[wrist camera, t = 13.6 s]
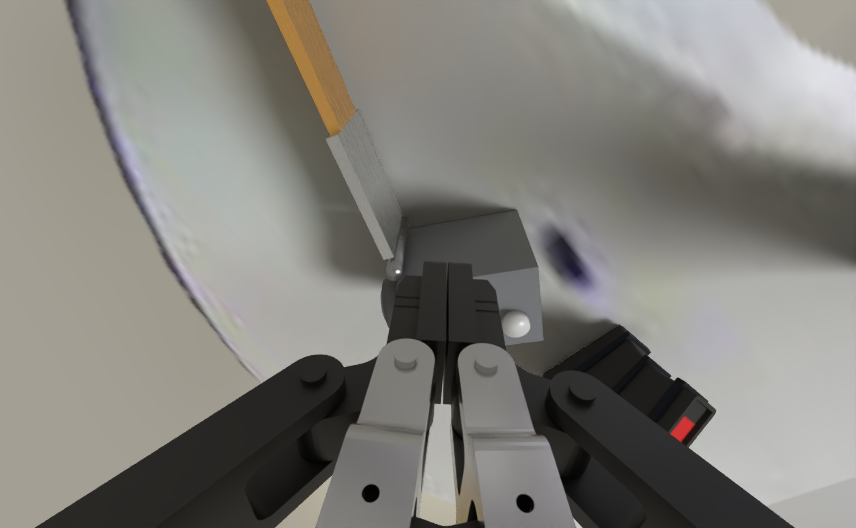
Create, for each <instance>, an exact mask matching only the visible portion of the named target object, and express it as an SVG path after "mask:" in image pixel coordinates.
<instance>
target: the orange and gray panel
mask: <svg viewBox="0 0 856 528" xmlns="http://www.w3.org/2000/svg"><path fill="white" fill-rule="evenodd" d="M266 1H267V3H268V5H269V7H270V9H271V12H272V14H273V16H274V18H275V20H276V22H277V24H278V26H279V28H280V31H281V33H282V35H283V37H284V39H285V41H286V43H287V45H288V48H289V50H290V52H291V54H292V56H293V58H294V60H295V62H296V65H297V67H298V69H299V71H300V73H301V75H302V77H303V79H304V81H305V84H306V86H307V88H308V90H309V92H310V94H311V96H312V98H313V101H314V103H315V105H316V107H317V109H318V111H319V113H320V115H321V117H322V120H323V122H324V124H325V126H326V128H327V130H328V132H329V134H330V135H329V136H328V137H327V138H326V141H327V143H328V145H329V147H330V150H331V152H332V154H333V156H334V158H335V160H336V162H337V164H338V166H339V168H340V170H341V172H342V174H343V177H344V179H345V181H346V183H347V185H348V187H349V189H350V191H351V193H352V195H353V197H354V199H355V202H356V204H357V206H358V208H359V210H360V212H361V214H362V216H363V218H364V220H365V222H366V224H367V227H368V229H369V231H370V233H371V235H372V237H373V239H374V241H375V243H376V245H377V247H378V249H379V252H380V254H381V256H382V258H383V260H386V259H388V261H387V266H386V270H385V276H386V277H387V278H388V279H389V280H392V281H396V280H398V279H400V278H401V276H402V270H403V263H404V256H405V250H406V243H407V236H408V230H409V223H410V222H409V219H408V218H407V217H405V216H402V212H401V209H400V207H399V204H398V202H397V200H396V197H395V195H394V192H393V190H392V188H391V185H390V183H389V180H388V178H387V176H386V173H385V171H384V168H383V166H382V164H381V161H380V159H379V157H378V154H377V152H376V149H375V147H374V145H373V142H372V140H371V137H370V135H369V133H368V130H367V128H366V125H365V123H364V121H363V118H362V116H361V113H360V111H359V109H358V110H355V108H354V106H353V103H352V101H351V99H350V96H349V94H348V91H347V89H346V87H345V84H344V82H343V80H342V77H341V75H340V73H339V70H338V68H337V65H336V63H335V61H334V58H333V56H332V54H331V51H330V49H329V47H328V44H327V42H326V39H325V37H324V35H323V32H322V30H321V28H320V25H319V23H318V21H317V18H316V16H315V13H314V11H313V9H312V6H311V4H310V2H309V0H266Z"/></svg>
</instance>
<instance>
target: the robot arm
mask: <svg viewBox="0 0 856 528" xmlns="http://www.w3.org/2000/svg"><path fill="white" fill-rule="evenodd" d="M446 272H447V283H446ZM442 382H443V404H451V425H450V439H451V450H452V462H453V473H454V485H455V496H456V525H452V526H441V525H437V524H435V523H432V522H429V521H427V520H424V519H421V518H419V516H420V505H421V498H422V490H423V482H424V474H425V466H426V458H427V450H428V443H429V435H430V427H431V425H432V423H433V417H434V404H441V393H442ZM331 476H332V478H331V481H330V484H329V487H328V491H327V493H326V497H325V500H324V503H323V506H322V509H321V512H320V515H319V518H318V521H317V524H316V527H315V528H576V526H575V523H574V520H573V518H574V519H575V520H576V521H577V522H578V523H579V524H580V525H581V526H582V528H794V527H793V526H792V525H790V524H789V523H788V522H786V521H785V520H784V519H782V518H780V516H778V515H777V514H776V513H774V512H773V511H772V510H770V509H769V508H768V507H766V506H765V505H764V504H762V503H761V502H760V501H758V500H757V499H756V498H754V497H753V496H752V495H751V494H749V493H748V492H747V491H745V490H744V489H743V488H741V487H740V486H739V485H737V484H736V483H735V482H733V481H732V480H731V479H729V478H728V477H727V476H725V475H724V474H723V473H721V472H720V471H719V470H717V469H716V468H715V467H713V466H712V465H711V464H709V463H708V462H707V461H705V460H704V459H703V458H701V457H700V456H699V455H697V454H696V453H695V452H693V451H692V450H691V449H689V448H688V447H687V446H686V445H684V444H683V443H682V442H680V441H679V440H678V439H676V438H675V437H674V436H672V435H671V434H670V433H668V432H667V431H666V430H664V429H663V428H662V427H660V426H659V425H658V424H656V423H655V422H654V421H652V420H651V419H650V418H648V417H647V416H646V415H644V414H643V413H642V412H640V411H639V410H638V409H636V408H635V407H634V406H632V405H631V404H630V403H628V402H627V401H626V400H625V399H623V398H622V397H621V396H619V395H618V394H617V393H615V392H614V391H613V390H611V389H610V388H609V387H607V386H606V385H605V384H603V383H602V382H601V381H599V380H598V379H596V378H595V377H593V376H591V375H589V374H586V373H583V372H580V371H563V372H560V373H558V374H556V375H555V376H554V377H553V378H552V380H549V379H546V378H543V377H540V376H537V375H534V374H531V373H528V372H526V371H524V370H523V369H521V368H520V367H518V366H517V365H516V364H515V363H514V360H513V359H512V357H511V356H510V355H509V353H507V351H506V346H505V341H504V335H503V329H502V323H501V317H500V314H499V306H498V300H497V294H496V290H495V289H494V287H493V286H492V285H491V284H490V282H489V281H488V280H482V279H473V274H472V264H471V263H460V262H448V270H447V262H440V261H424V264H423V274H422V276H410V275H406V276H405V277H404V278H403V279H402V281H401V282H400V283H399V284H398V286H397V291H396V298H395V302H394V308H393V313H392V318H391V324H390V329H389V334H388V340H387V344H386V345H385V346H384V347H383V348H382V349H381V351H380V352H379V355H378V356H377V357H375V358H374V359H372V360H370V361H368V362H365V363H362V364H358V365H353V366H348V367H343V365H342V364H341V362H340V361H339V360H337V359H336V358H334V357H331V356H328V355H311V356H307V357H304V358H302V359H300V360H298V361H296V362H294V363H293V364H291V365H290V366H288V367H287V368H285V369H283V370H282V371H280V372H279V373H277V374H276V375H274V376H272V377H271V378H269V379H268V380H266V381H265V382H263V383H261V384H260V385H258V386H257V387H255V388H254V389H252V390H251V391H249V392H247V393H246V394H244V395H243V396H241V397H239V398H238V399H236V400H235V401H233V402H232V403H230V404H228V405H227V406H226V407H224V408H222V409H221V410H219V411H218V412H216V413H214V414H213V415H211V416H210V417H208V418H207V419H205V420H204V421H202V422H200V423H199V424H197V425H195V426H194V427H192V428H191V429H189V430H188V431H186V432H185V433H183V434H181V435H180V436H178V437H177V438H175V439H173V440H172V441H170V442H169V443H167V444H166V445H164V446H163V447H161V448H159V449H158V450H156V451H155V452H153V453H152V454H150V455H148V456H147V457H145V458H144V459H142V460H141V461H139V462H138V463H136V464H134V465H133V466H131V467H130V468H128V469H126V470H125V471H123V472H122V473H120V474H119V475H117V476H115V477H114V478H112V479H111V480H109V481H108V482H106V483H104V484H103V485H101V486H100V487H98V488H97V489H95V490H93V491H92V492H90V493H89V494H87V495H86V496H84V497H82V498H81V499H79V500H78V501H76V502H75V503H73V504H72V505H70V506H68V507H67V508H65V509H64V510H62V511H61V512H59V513H57V514H56V515H54V516H53V517H51V518H49V519H48V520H46V521H45V522H43V523H42V524H40V525H38V526H37V527H35V528H275V527H276V526H277V525H278V524H279V523H280V522H282V521H283V520H284V519H285V518H286V517H287V516H288V515H289V514H290V513H291V512H292V511H294V510H295V509H296V508H297V507H298V506H299V505H300V504H301V503H302V502H303V501H304V500H305V499H306V498H308V497H309V496H310V495H311V494H312V493H313V492H314V491H315V490H316V489H317V488H319V486H321V485H322V484H323V483H324V482H325V481H326V480H327V479H328V478H329V477H331Z"/></svg>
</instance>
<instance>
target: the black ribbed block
mask: <svg viewBox="0 0 856 528" xmlns="http://www.w3.org/2000/svg"><path fill="white" fill-rule="evenodd" d="M650 353H651V352H650V350H649V349H648V348H647V347H646V346H645V345H644V344H643V343H641V342H640V341H639V340H638V339H637V338H636V337H635V336H633V335H632V334H631V333H630V332H629V331H628V330H626V329H625V328H624V327H622V326H618V327H617V328H615V329H614V330H612V331H610V332H609V333H607V334H606V335H604V336H603V337H601V338H600V339H598V340H597V341H595V342H593V343H592V344H590V345H589V346H587V347H586V348H584V349H583V350H581V351H579V352H578V353H576V354H575V355H573V356H572V357H570V358H569V359H567V360H565V361H564V362H562V363H561V364H559V365H558V366H556V367H555V368H553V369H551V370H550V371H548V372H547V373H545V374H544V375H543V378H546V379H549V380H552V378H553V377H554V376H555V375H556V374H558V373H560V372H563V371H580V372H583V373H586V374H589V375H591V376H593V377H595V378H596V379H598V380H599V381H601V382H602V383H603V384H605V385H606V386H607V387H609V388H610V389H611V390H613V391H614V392H615V393H617V394H618V395H619V396H621V397H622V398H623V399H625V400H626V401H627V402H628V403H630V404H631V405H632V406H634V407H635V408H636V409H638V410H639V411H640V412H642V413H643V414H644V415H646V416H647V417H648V418H650V419H651V420H652V421H654V422H655V423H656V424H658V425H659V426H660V427H662V428H663V429H664V430H666V431H667V432H668V433H670V434H671V435H672V436H674V437H675V438H676V439H678V440H679V441H680V442H682V443H683V444H684V445H686V446H687V447H688V448H689V446H690V445H691V444H692V443H693V441H694V440H695V439H696V438H697V436H698V435H699V434H700V433H701V431H702V430H703V429H704V427H705V426H706V425H707V424H708V422H709V421H710V420H711V419H712V417H713V416H714V415H715V413H716V409H715V408H713V407H712V406H711V405H710V404H709V403H708V401H707V400H706V399H705V398H704V397H703V396H702V395H700V394H699V393H698V392H697V391H696V390H695V389H693V388H692V387H691V386H690V385H689V384H687V383H686V382H685V381H683V380H682V379H680V378H678V377H677V378H676V380H675V381H674V380H672V379H670V377H671V375H670V374H669V373H668V372H666V371H665V370H664V369H663V368H662V367H661V366H659V365H658V364H657V363H656V362H655V361H653V360H652V359H651V358H650V357H649V356H648V355H649V354H650Z"/></svg>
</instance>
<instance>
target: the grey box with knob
mask: <svg viewBox="0 0 856 528" xmlns="http://www.w3.org/2000/svg"><path fill="white" fill-rule="evenodd" d="M424 261H440V262H447V270H448V262H460V263H471V264H472V274H473V279H482V280H488V281H489V282H490V284H491V285H492V286H493V287H494V289H495V290H496V294H497V300H498V306H499V314H500V317H501V323H502V329H503V335H504V341H505V346H506V345H514V344H521V343H529V342H537V341H544V339H543V325H542V312H541V298H540V284H539V270H538V265H537V262H536V260H535V257H534V254H533V252H532V249H531V246H530V243H529V241H528V238H527V235H526V233H525V230H524V227H523V225H522V222H521V219H520V217H519V214H518V211H517V210H513V211H507V212H501V213H496V214H490V215H484V216H479V217H473V218H468V219H462V220H456V221H451V222H445V223H439V224H434V225H428V226H422V227H417V228H411V229H409V230H408V236H407V243H406V250H405V256H404V263H403V270H402V276H401V278H400V279H398V280H396V281H392V280H389V279H385V280H384V281H383V284H382V291H381V307H382V312H383V316H384V318H385V320H386V322H387V325H388V327H389V329H390V324H391V318H392V313H393V308H394V302H395V298H396V291H397V286H398V284H399V283H400V282H401V281H402V279H403V278H404V277H405V276H406V275H410V276H422V274H423V264H424ZM446 283H447V272H446Z"/></svg>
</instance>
